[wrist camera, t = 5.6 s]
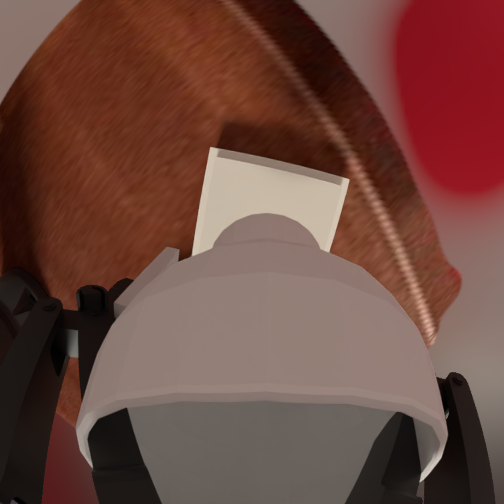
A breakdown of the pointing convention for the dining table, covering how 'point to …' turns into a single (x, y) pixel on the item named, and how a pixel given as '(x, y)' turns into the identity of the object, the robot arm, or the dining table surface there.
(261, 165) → the pedestal
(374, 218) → the dining table surface
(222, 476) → the cup
